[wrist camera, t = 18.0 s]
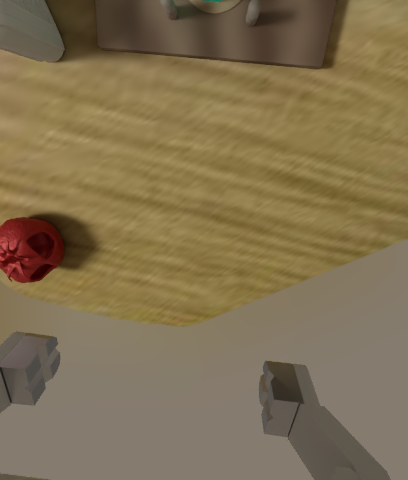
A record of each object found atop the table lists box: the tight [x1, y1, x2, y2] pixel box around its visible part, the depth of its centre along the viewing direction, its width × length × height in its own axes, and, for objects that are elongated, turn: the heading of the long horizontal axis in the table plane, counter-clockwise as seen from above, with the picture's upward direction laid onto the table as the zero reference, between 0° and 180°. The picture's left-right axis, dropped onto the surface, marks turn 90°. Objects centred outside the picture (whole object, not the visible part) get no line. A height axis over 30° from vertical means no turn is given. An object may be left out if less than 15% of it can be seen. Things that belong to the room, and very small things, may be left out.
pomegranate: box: [0, 217, 64, 283], centre depth 40 cm, size 10×10×9 cm
